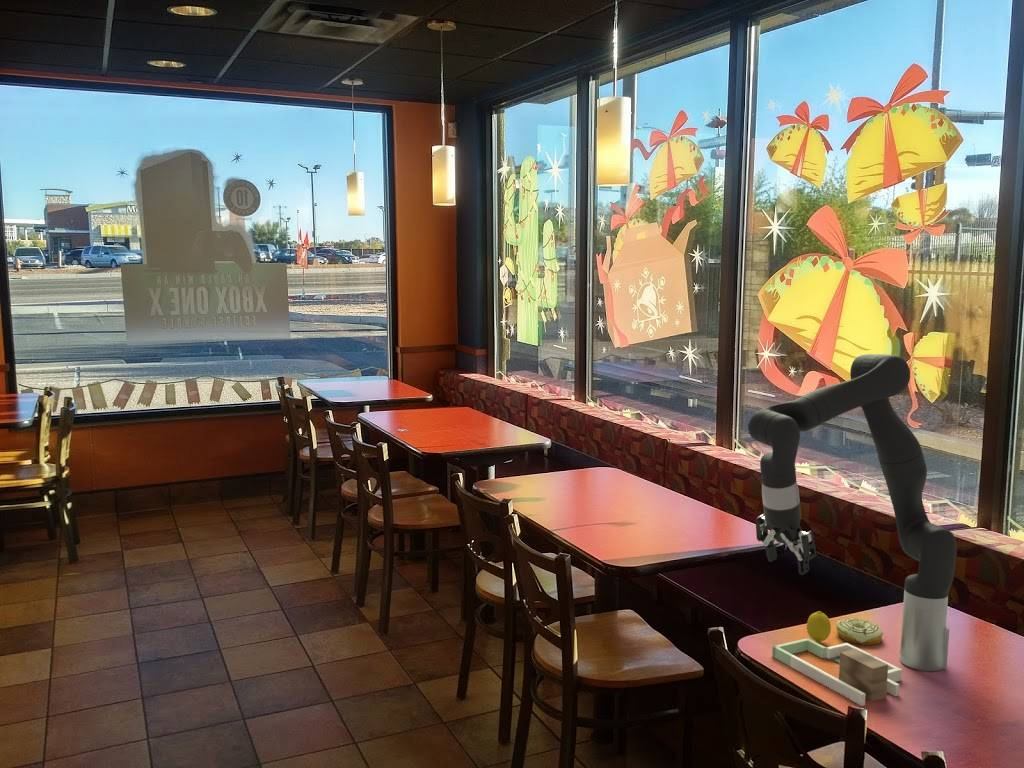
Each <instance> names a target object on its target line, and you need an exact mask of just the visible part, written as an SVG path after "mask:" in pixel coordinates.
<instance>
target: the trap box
mask: <svg viewBox="0 0 1024 768" xmlns="http://www.w3.org/2000/svg"><path fill="white" fill-rule="evenodd" d="M825 647H826V646H825ZM852 649H857V650H859V651H861V652H863V653H865V654H867V655H869V656H871V657H873V658H875V659H877V660H880V661H882V662H884V663H886V664H888V675H887V691H886V693H888V694H890V695H892V696H894V697H898V696H900V686H901V685H900V683H897V682H899V681H902V672H903V669H902V668H900V667H898V666H895V664H894V665H893V664H891V663H889V662H887V661H885V660H884V659H881V658H880V657H878V656H875V655H873V654H871V653H869V652H868V651H865V650H863V649H860V648H858V647H856V646H855V645H852V644H850V643H849V642H843V643H840V644H836V645H830V646H827V647H826V658H825V659H827V658H828V659H827V660H831V661H833V662H834V661H835V663H836V662H837V663H836V664H838V665H840V652H844V651H848V650H852ZM789 667H791V668H793V669H794V670H796V671H798V672H800V673H801V674H803V675H805V676H807V677H808V678H810V679H812V680H814V681H816V682H818V683H819V684H821V683H822V684H821V685H823V686H825V687H826V686H827V687H826V688H828V687H829V688H828V689H830V690H832V691H834V692H835V691H836V692H835V693H837V692H838V694H839V693H840V695H841V694H842V695H841V696H843V695H844V696H845V697H844V696H843V697H844V698H846V697H847V698H846V699H848V698H849V699H848V700H849V701H851V702H854V703H855V704H857V705H859V706H860V707H863V706H865V705H866V699H865V696H866V694H865V693H863V692H861V691H860V690H858V689H856V688H854V687H852V686H850V685H848V684H847V683H845V682H843V681H841V680H839V678H837V677H836V676H834V675H831V674H830V673H827V672H825V671H824V670H822V669H820V668H819V667H817V666H815V665H813V664H811V663H809V662H807V661H806V660H804V659H802V658H800V657H798V656H797V655H794V654H793V656H791V659H790V666H789Z"/></svg>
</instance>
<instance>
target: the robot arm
mask: <svg viewBox="0 0 1024 768" xmlns="http://www.w3.org/2000/svg"><path fill="white" fill-rule="evenodd" d="M910 379H911V369H910V366H909V364H908V363H907V361H906V360H905V358H904V359H903V358H902V357H900V356H898V355H895V354H885V353H884V354H880V353H879V354H877V353H875V354H874V353H873V354H872V353H867V354H866V353H865V354H861V355H859V356H857V357H855V358H854V359H853V361H852V364H851V366H850V379H849V380H846V381H842V382H839V383H835V384H830V385H827V386H823V387H820V388H817V389H815V390H813V391H810V392H808V393H806V394H804V395H801V396H800V397H797V398H795V399H794V400H791V401H786V402H780V403H777V404H773V405H769V406H766V407H763V408H761V409H759V410H757V411H756V412H755V413H753V415H752V416H751V418H750V419H749V421H748V425H747V430H748V434H749V435H750V437H751V438H752V439H753V440H754V441H756V442H758V443H761V444H764V445H767V446H769V447H771V449H772V451H770V452H767V453H765V454H764V455H762V457H761V458H760V461H759V462H760V463H759V465H760V467H759V468H760V469H759V470H760V477H761V497H762V506H763V507H762V508H763V513H762V514H760V515H759V516H757V517H756V518H755V530H756V531H755V533H756V534H755V535H756V540H757V541H758V542H762V543H763V546H764V547H765V553H766V554H765V555H766V558H767V561H768V562H771V563H772V562H773V561H776V560H777V558H778V554H777V553H778V551H777V544H776V543H781V544H783V545H784V546H787V547H788V548H789V550H790V551H791V552H792V553H793V554H794V555H795V556H796V558H797V568H798V569H797V570H798V575H801V576H803V575H805V574H807V573H808V572H809V571H810V562H809V561H810V560H812V559H813V558H815V557H817V550H816V544H815V535H814V531H812V530H809V531H807V532H806V531H803V530H802V528H801V526H800V524H801V523H800V522H801V519H802V510H801V501H800V491H799V490H800V489H799V486H798V483H797V474H796V473H797V472H796V459H797V455H798V449H799V444H800V440H801V439H800V438H801V432H807V431H810V430H813V429H815V428H817V427H819V426H821V425H822V424H824V423H827V422H828V421H830V420H832V419H835V418H836V417H839V416H841V415H843V414H845V413H847V412H850V411H852V410H856V409H857V408H861V410H862V412H863V415H864V417H865V419H866V422H867V425H868V428H869V431H870V435H871V437H872V440H873V444H874V446H875V449H876V454H877V458H878V461H879V465H880V469H881V471H882V475H883V478H884V480H885V483H886V487H887V490H888V493H889V497H890V501H891V505H892V509H893V512H894V518H895V523H896V529H897V535H898V540H899V544H900V546H901V548H902V551H903V552H904V553H905V554H906V555H907V556H908V557H910V558H912V559H913V560H915V561H918V562H919V565H918V571H917V573H914V574H909V575H908V576H907V577H905V579H904V589H903V603H902V604H903V607H902V619H901V638H900V639H901V640H900V650H899V655H900V656H899V660H900V663H902V665H905V666H906V667H908V668H910V669H914V670H918V671H923V672H937V671H940V670H947V669H948V656H949V641H950V628H949V627H948V626H947V620H948V619H947V618H948V603H949V602H948V601H949V591H950V588H951V587H952V585H953V581H954V578H955V577H954V576H955V570H956V561H957V553H958V544H957V540H956V537H955V535H954V534H953V532H951V531H950V530H949V529H946V528H944V527H942V526H939V525H938V524H937V525H936V524H935V523H931V521H930V519H929V517H928V515H927V512H926V509H925V506H924V503H923V492H924V491H923V490H924V488H925V484H926V481H927V478H928V477H927V476H928V469H927V463H926V460H925V457H924V454H923V453H924V452H923V449H922V447H921V444H920V442H919V440H918V438H917V437H916V436H915V434H914V433H913V431H912V430H911V429H910V428H909V427H908V425H906V423H905V422H904V421H903V420H902V419H901V418H900V416H899V415H898V414H897V413H896V411H895V410H894V408H893V405H892V404H891V402H890V397H891V398H892V397H895V396H898V395H899V394H902V392H904V391H905V390H906V389H907V387H908V385H909V384H910V383H909V382H910ZM775 541H776V543H775ZM796 542H798V543H797V545H794V544H795V543H796ZM800 550H801V551H800Z"/></svg>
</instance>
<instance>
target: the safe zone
mask: <svg viewBox="0 0 1024 768" xmlns="http://www.w3.org/2000/svg"><path fill="white" fill-rule="evenodd" d="M771 650H772V651H771V657H773V658H774V659H776V660H778V661H780V662H782V663H783V664H786V665H787V666H789V667H790V659H791V656H793V655H794V654H798V653H801V652H805V651H807V650H808V651H807V652H809V651H810V653H811V652H812V653H811V654H813V655H815V656H818V657H819V658H821V659H827V658H826V646H824V645H823V644H820V643H817V642H816V641H815V640H813V639H810V638H809V637H807V638H806V637H805V638H802V639H798V640H794V641H789V642H785V643H780V644H776V645H772V649H771Z"/></svg>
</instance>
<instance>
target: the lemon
mask: <svg viewBox="0 0 1024 768" xmlns="http://www.w3.org/2000/svg"><path fill="white" fill-rule="evenodd" d="M831 629H832V626H831V621H830V619H829V617H828V616H827V615H826V614H825V613H824V612H822V611H820V610H819V611H816V612H813V613H811V614H810V615H809V617H808V618H807V623H806V630H807V631H806V632H807V634H808V636H809V637H810V638H811V640H812V641H814V642H816V643H818V644H820V642H823V641H826V640H827V639H828V638H829V636H830V635H831Z"/></svg>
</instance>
